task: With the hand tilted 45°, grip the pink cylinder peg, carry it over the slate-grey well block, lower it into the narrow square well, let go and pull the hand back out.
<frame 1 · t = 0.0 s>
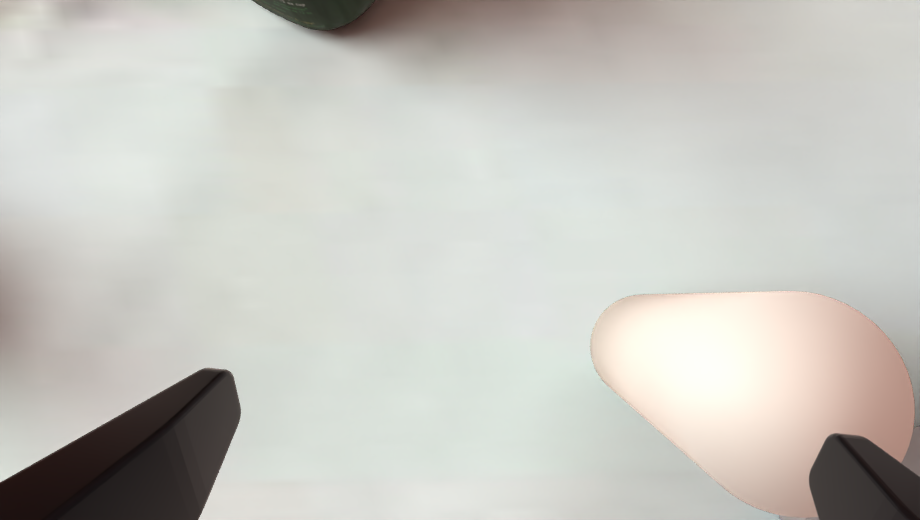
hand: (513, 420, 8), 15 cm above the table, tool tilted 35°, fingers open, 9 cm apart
pink cylinder peg: (643, 347, 23), on the table
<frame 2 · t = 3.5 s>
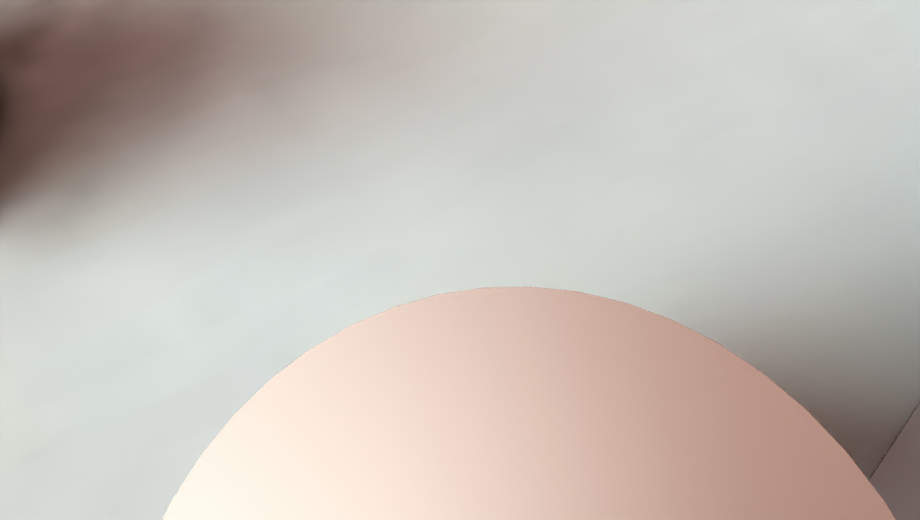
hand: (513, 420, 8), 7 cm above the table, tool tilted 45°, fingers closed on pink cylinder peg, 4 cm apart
pink cylinder peg: (502, 474, 14), on the table, touching gripper
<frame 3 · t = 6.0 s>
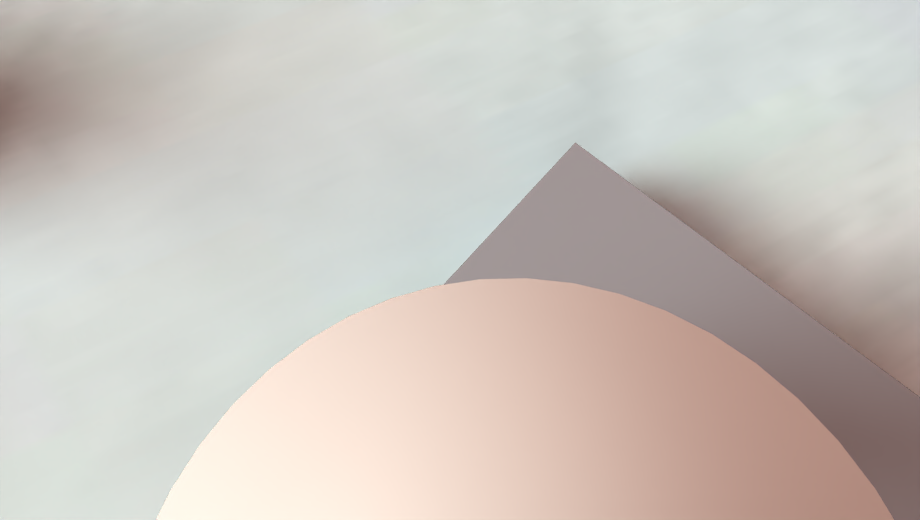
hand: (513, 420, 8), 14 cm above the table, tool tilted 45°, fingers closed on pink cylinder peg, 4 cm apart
pink cylinder peg: (501, 472, 14), point 7 cm above the table, touching gripper
well block: (588, 474, 21), on the table
when the fingers open (8 cm above the table, at t = 8.7 s): pink cylinder peg drops 1 cm, resting in well block.
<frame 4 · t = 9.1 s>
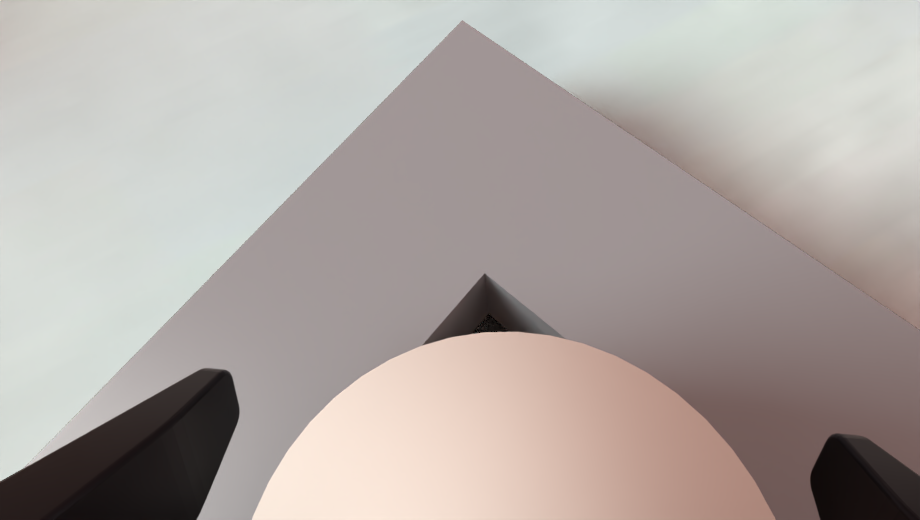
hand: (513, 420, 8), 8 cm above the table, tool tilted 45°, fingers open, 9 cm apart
pink cylinder peg: (501, 470, 16), resting in well block
well block: (502, 468, 16), on the table
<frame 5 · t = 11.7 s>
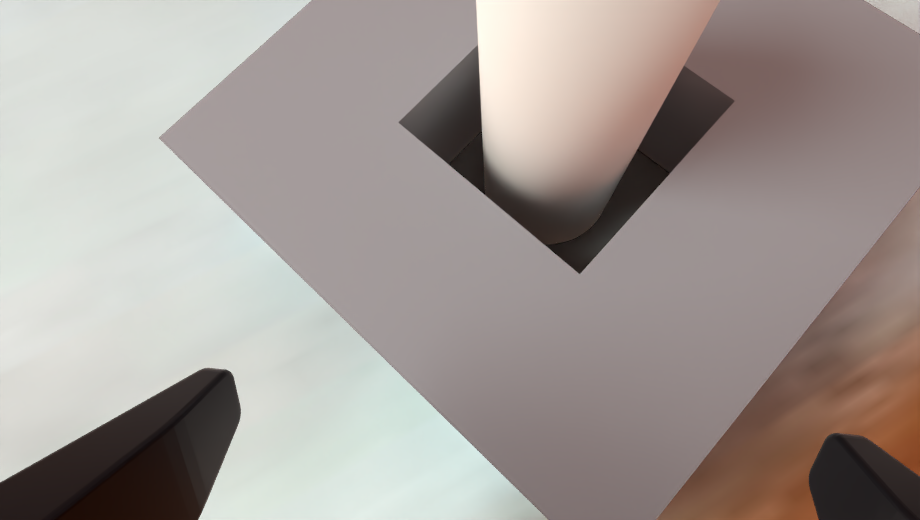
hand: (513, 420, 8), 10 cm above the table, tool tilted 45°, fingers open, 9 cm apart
pink cylinder peg: (545, 185, 20), resting in well block
well block: (546, 184, 20), on the table
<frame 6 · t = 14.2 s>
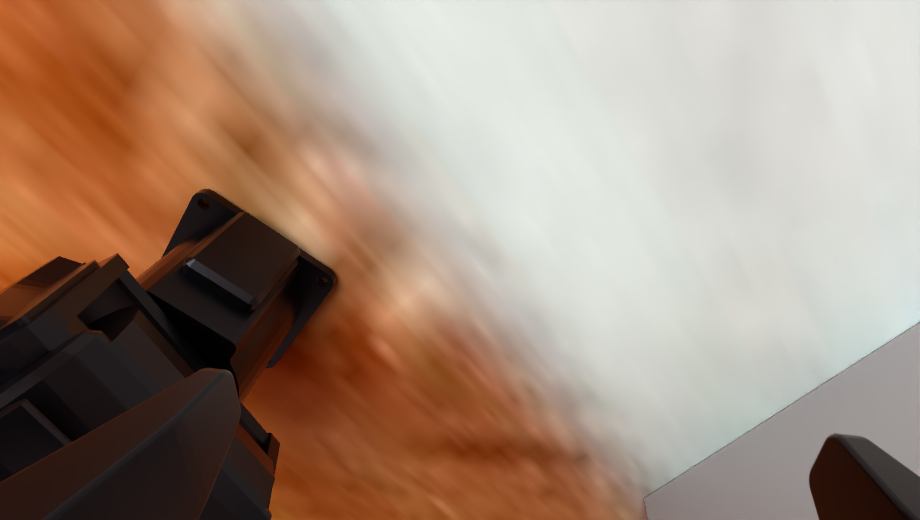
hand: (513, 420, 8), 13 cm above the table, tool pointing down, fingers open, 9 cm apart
well block: (895, 499, 25), on the table
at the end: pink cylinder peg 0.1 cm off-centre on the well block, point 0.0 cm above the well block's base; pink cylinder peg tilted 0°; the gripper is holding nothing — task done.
